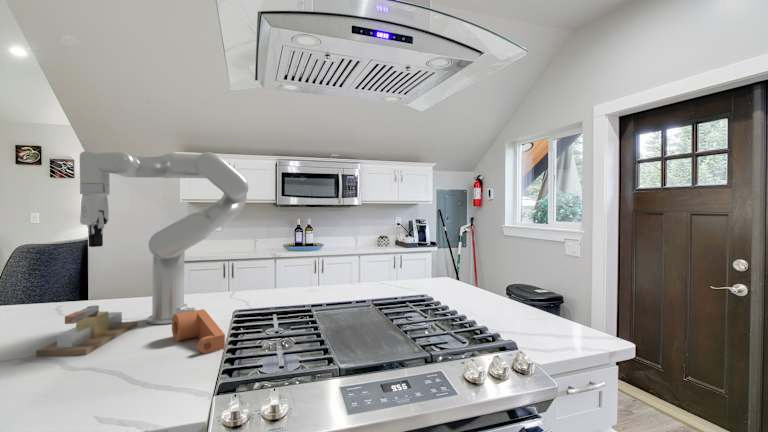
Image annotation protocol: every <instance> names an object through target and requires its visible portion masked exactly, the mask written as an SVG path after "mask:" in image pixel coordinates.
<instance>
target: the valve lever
mask: <svg viewBox="0 0 768 432" xmlns="http://www.w3.org/2000/svg"><path fill="white" fill-rule="evenodd" d="M96 312H100V306H99V305H96V304H95V305H89V306H87V307H85V308H83V309H81V310H77V311H75V312H72V313H70V314H67V315H65V316H64V325H75V324H76V322H78V321H80V320H82V319H84V318H85V317H87V316H89V315H91V314H93V313H96Z"/></svg>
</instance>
